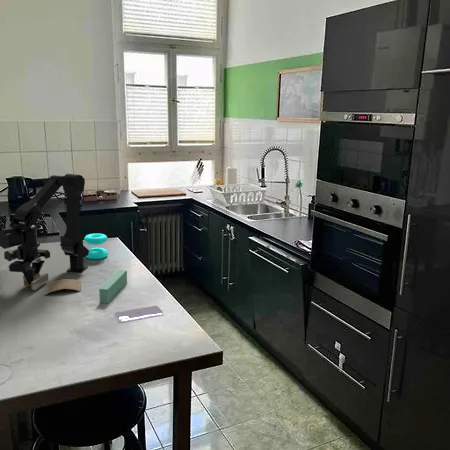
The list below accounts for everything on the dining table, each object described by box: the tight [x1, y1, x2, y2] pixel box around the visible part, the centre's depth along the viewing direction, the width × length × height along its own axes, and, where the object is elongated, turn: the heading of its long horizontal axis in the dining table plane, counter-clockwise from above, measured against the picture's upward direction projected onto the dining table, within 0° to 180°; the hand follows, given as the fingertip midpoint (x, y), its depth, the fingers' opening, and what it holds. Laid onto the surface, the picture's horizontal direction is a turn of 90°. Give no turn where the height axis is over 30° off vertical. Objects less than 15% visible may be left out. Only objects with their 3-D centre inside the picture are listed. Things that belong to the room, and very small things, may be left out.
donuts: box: [83, 232, 109, 260], centre depth 205 cm, size 10×10×10 cm
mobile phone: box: [113, 305, 165, 323], centre depth 149 cm, size 8×1×15 cm
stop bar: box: [98, 269, 128, 304], centre depth 166 cm, size 20×3×5 cm, turn 173°
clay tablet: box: [44, 278, 82, 296], centre depth 168 cm, size 14×10×3 cm
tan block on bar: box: [22, 272, 49, 291], centre depth 169 cm, size 6×10×4 cm, turn 173°
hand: (32, 282), depth 170 cm, fingers closed on tan block on bar, 3 cm apart
